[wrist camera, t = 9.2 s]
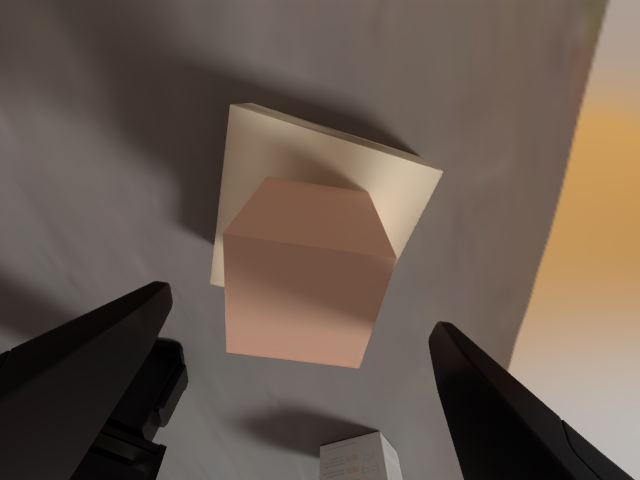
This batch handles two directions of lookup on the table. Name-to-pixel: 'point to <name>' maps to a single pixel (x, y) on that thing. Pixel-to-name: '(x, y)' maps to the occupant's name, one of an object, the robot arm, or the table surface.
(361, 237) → the terracotta block
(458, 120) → the table surface
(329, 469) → the small box
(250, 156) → the birch base block
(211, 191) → the table surface
